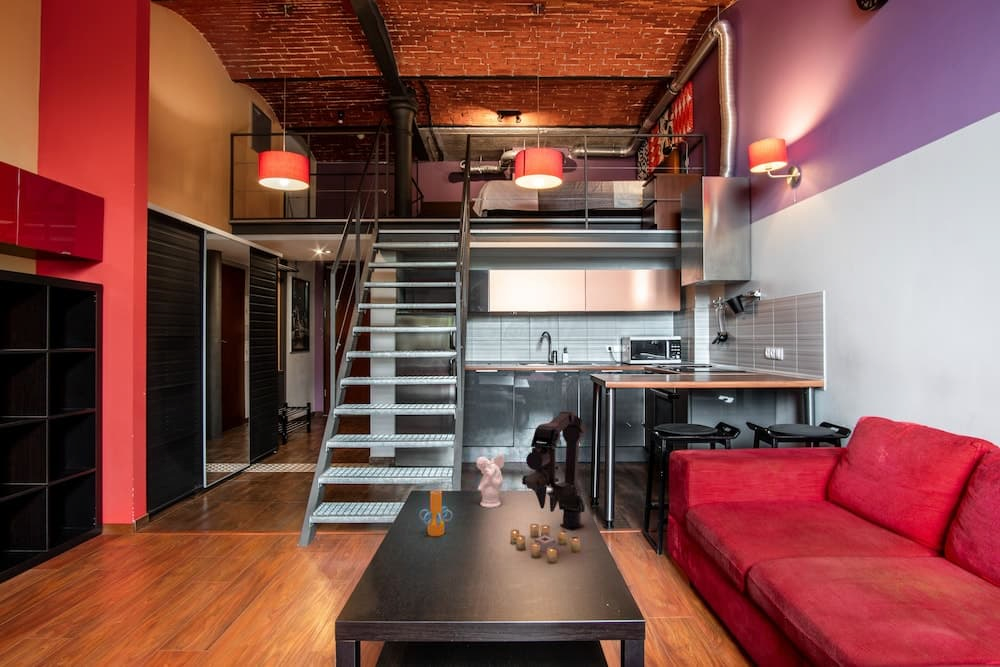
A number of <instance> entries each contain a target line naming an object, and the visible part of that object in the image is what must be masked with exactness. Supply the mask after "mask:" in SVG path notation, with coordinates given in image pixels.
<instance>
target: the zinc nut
mask: <svg viewBox="0 0 1000 667" xmlns="http://www.w3.org/2000/svg"><path fill="white" fill-rule="evenodd" d="M534 542H538V543H540V552H543V553H546V554H547V548H548V547H554V548H556V547H557V546H556V545H557V541H556V539H555V538H553V537H548V536H546V535H544V536H541V535H540V536H539V537H538V538H534ZM556 549H557V548H556Z"/></svg>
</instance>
